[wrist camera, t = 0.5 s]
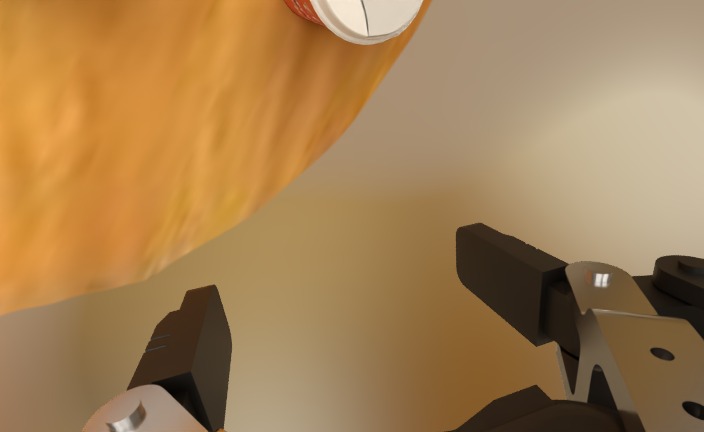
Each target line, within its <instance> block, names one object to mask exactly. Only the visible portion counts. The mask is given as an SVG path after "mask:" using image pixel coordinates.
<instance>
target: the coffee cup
mask: <svg viewBox="0 0 704 432" xmlns="http://www.w3.org/2000/svg"><path fill="white" fill-rule="evenodd" d="M284 1H285V2H286V4H287V5H288V7H289V8H290V9H291V10H292V11H293V12H295V13H296V14H297V15H299V16H301V17H303V18H305V19H307V20H310V21H312V22H314V23H317V24H320V25H322V26H325V27H327V28H328V29H330V30H331V31H332V32H333V33H334V34H336V35H337V36H339V37H340V38H342V39H344V40H346V41H349V42H352V43H355V44H361V45H372V44H376V43H381V42H383V41H386V40H388V39H390V38H393V37H396V36H398V35H400V34H401V33H402V32H403V31H404V30H405V29H406V28H407V27H408V26H409V25H410V23H411V22H412V21H413V19H414V18H415V17H416V15H417V13H418V11H419V9H420V7H421V4H422V2H423V0H284Z"/></svg>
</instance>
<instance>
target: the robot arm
mask: <svg viewBox="0 0 704 432" xmlns="http://www.w3.org/2000/svg"><path fill="white" fill-rule="evenodd" d="M456 267H457V273H458V277H459V279H460V281H461V282H462V284H463V285H464V286H465V287H466V288H468V289H469V290H470V291H471V292H472V293H473V294H475V295H476V296H477V297H478V298H480V299H481V300H482V301H483V302H484V303H485V304H486V305H488V306H489V307H490V308H491V309H492V310H494V311H495V312H496V313H497V314H498V315H500V316H501V317H502V318H503V319H505V321H507V322H508V323H509V324H510V325H511V326H512V327H514V328H515V329H516V330H517V331H518V332H519V333H521V334H522V335H523V336H524V337H525V338H527V339H528V340H529V341H530V342H531V343H532V344H534V345H535V346H536V347H537V346H540V345H543V344H546V343H549V342H552V341H555V342H557V351H556V355H557V360H558V364H559V368H560V372H561V377H562V381H563V385H564V390H565V394H566V398H567V400H551V399H550V398H549V397H548V396H547V395H546V394H545V393H544V392H543V391H542V390H541V389H540V388H539V387H538V386H537V385H534V386H531V387H529V388H526V389H523V390H520V391H517V392H515V393H512V394H509V395H507V396H504V397H501V398H498V399H496V400H493V401H492V402H491V403H490V404H488V405H487V406H486V407H484V408H483V409H482V410H481V411H479V412H478V413H477V414H476V415H474V416H473V417H472V418H470V419H469V420H468V421H467V422H465V423H464V424H463V425H462V426H460V427H459V428H457V429H456V430H453V431H447V432H704V259H701V258H696V257H690V256H679V255H671V256H664V257H660V258H658V259H657V260H656V262H655V267H654V271H653V275H648V276H630V275H629V274H628V273H627V272H625V271H624V270H622V269H620V268H618V267H615V266H612V265H609V264H605V263H600V262H591V261H581V262H575V263H572V264H568V263H566V262H564V261H562V260H560V259H558V258H556V257H553V256H552V255H549V254H547V253H545V252H543V251H541V250H539V249H536V248H535V247H533V246H531V245H529V244H526V243H525V242H523V241H521V240H519V239H517V238H515V237H513V236H509V235H505V234H502V233H500V232H498V231H496V230H494V229H492V228H490V227H488V226H486V225H484V224H482V223H476V224H472V225H467V226H463V227H459V228H458V229H457V232H456ZM145 351H146V353H144V354H143V356H142V358H141V360H140V362H139V365H138V367H137V369H136V371H135V373H134V376H133V377H132V380H131V382H130V384H129V386H128V388H127V391H126V392H124V393H122V394H120V395H118V396H116V397H115V398H113V399H112V400H110V401H109V402H107V403H106V404H105V405H104V406H102V407H101V408H100V409H99V410H98V411H97V412H96V413H95V414H94V415H93V416H92V417H91V418H90V420H89V421H88V422H87V424H86V425H85V426H84V429H83V430H82V432H226V431H225V430H223V429H224V420H225V410H226V400H227V391H228V381H229V372H230V362H231V353H232V340H231V333H230V329H229V326H228V322H227V318H226V315H225V312H224V309H223V305H222V302H221V299H220V295H219V292H218V289H217V287H216V286H215V285H210V286H206V287H201V288H197V289H192V290H188V291H187V292H186V294H185V297H184V300H183V302H182V305H181V307H180V310H177V311H173V312H170V313H169V314H168V315H167V316H166V317H165V318H164V319H163V320H162V321H161V322H160V323H159V324H158V325H157V326H156V328H155V330H154V333H153V334H152V337H151V341H150V342H149V343H148V345H147V347H146V350H145Z"/></svg>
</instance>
